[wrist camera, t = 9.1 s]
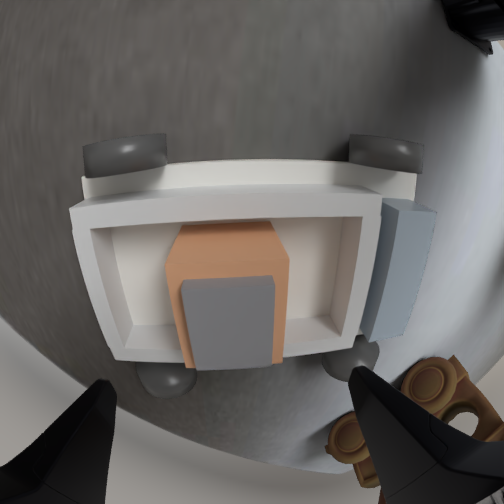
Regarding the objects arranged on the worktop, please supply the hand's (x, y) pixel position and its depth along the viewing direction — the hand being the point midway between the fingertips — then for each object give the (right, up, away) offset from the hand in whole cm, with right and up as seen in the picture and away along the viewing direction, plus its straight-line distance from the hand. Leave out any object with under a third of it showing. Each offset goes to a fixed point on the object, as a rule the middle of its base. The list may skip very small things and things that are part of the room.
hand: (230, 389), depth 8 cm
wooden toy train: (+19, -14, +19) cm, 31 cm away
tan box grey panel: (-1, +4, +8) cm, 9 cm away
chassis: (+1, +4, +9) cm, 10 cm away
